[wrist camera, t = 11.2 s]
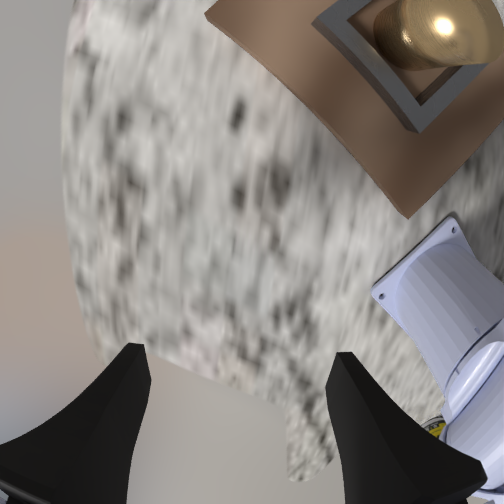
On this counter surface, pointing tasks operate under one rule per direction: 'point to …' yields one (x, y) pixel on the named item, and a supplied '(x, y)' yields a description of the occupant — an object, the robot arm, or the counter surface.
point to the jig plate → (365, 95)
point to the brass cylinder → (439, 33)
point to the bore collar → (383, 77)
